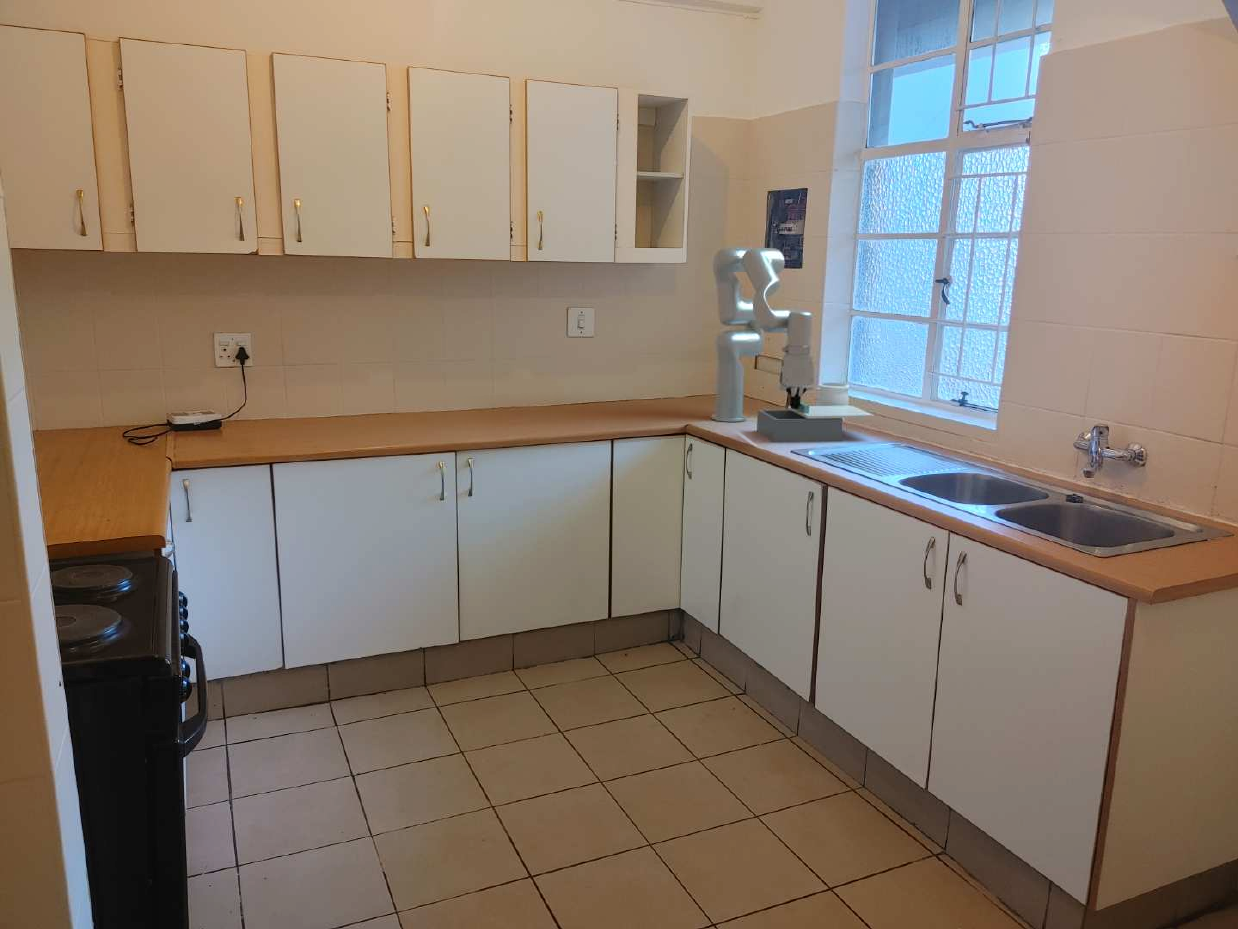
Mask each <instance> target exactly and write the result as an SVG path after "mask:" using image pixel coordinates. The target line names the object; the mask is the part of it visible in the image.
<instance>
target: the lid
mask: <svg viewBox="0 0 1238 929" xmlns="http://www.w3.org/2000/svg"><path fill="white" fill-rule="evenodd" d="M787 407H788V408H787V410H791V411H793V412H795V413H797V414H799V415H801V416H803V417H805V418H807V419H818V418H845V419H868V418H869V419H874V418H875V415H874V414H872V413H870V412H867V410H866V411H865V410H863V409H861V408H858V407H856V406H853V405H848V406H817V405H809V404H807V403H805V402H802V401H800V406H799V409H792V408H791V406H790V405H789V406H787Z"/></svg>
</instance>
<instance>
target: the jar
mask: <svg viewBox="0 0 1238 929" xmlns="http://www.w3.org/2000/svg"><path fill="white" fill-rule="evenodd" d="M818 388H819V391H818V394H817V405H816V406H849V404H850V403H849V402H850V400H849V397H850V396H849V389H850V385H849V384H846V383H840V382H822V383H821V382H820V383H819V384H818ZM842 419H843V423H844V422H845V420H846V418H842ZM843 427H844V425H843V424H842V428H843Z"/></svg>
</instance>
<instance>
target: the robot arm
mask: <svg viewBox="0 0 1238 929" xmlns="http://www.w3.org/2000/svg"><path fill="white" fill-rule="evenodd" d="M785 261H786V260H785V256H784V255H783V253H782V252H781V251H780V250H779V249H777V248H774V247H773V248H770V247H768V248H767V247H759V246H758V247H757V246H726V247H722V248H720V249H718V251H717V252H716V253H715V255H714V257H713V260H712V271H713V276H714V279H715V284H716V290H717V291H716V296H717V311H718V312H717V314H718V315H717V316H718V319H719V320H718V322H719V323H720V324H721V325H723V326H725V327H744V329H729V330H728V329H727V330H724V331H721V332H720V333H719V334H718V335H717V336H716V338H715V342H714V344H715V351H716V363H717V365H716V366H717V368H716V369H717V370H716V392H715V393H716V394H715V396H716V397H715V413H712V414H711V416H710V419H711V418H712V420H713V419H714V420H713V421H717V422H723V423H724V422H725V423H726V422H727V423H738V422H739V423H740V422H745V421H746V420H747V415H746V414H743V405H744V384H745V368H744V366H743V362H741V360H740V358H748V357H749V358H750V357H757V356H759V355H761V353H762V351H763V350H764V344H765V334H764V332H765V333H768V334H777V333H778V334H779V333H781V334H782V333H784V334H785V333H786V343H785V346H782V347H781V352H784V353H785V354H783V356H782V361H781V366H780V374H779V386H778V389H779V390H780V391H783V392H786V393H787V394H788V395H789V406H791V408H792V409H799V406H800V402H801V401H802V400H801V399H802V398H801V397H802V396H803V395H804V394H805V393H806V392H809V391H812V390H813V389H814V388H813V386H814V383H815V366H814V364H815V363H814V356H813V355H811V346H812V331H813V330H812V329H813V313H811V311H805V310H798V309H795V308H772V309H771V308H770V306H769V304H768V302H767V300H766V299H767V298H769V297H771V296H773V295H775V293H776V292H778V291H779V289H780V288H781V280H780V278H779V276H778V274H779V273H781V272H782V271H783V270H784V268H785ZM735 273H746V274H747V276H748V279H749V281H750V282H751V284H752V286H753V289H754V291H755V294H754V296H753V298H743V295H742V293H743V292H742V291H743V290H742V284H741V282H740V280H739V278H738V277H737V276H736V274H735ZM795 388H796V389H795Z"/></svg>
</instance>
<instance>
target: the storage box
mask: <svg viewBox="0 0 1238 929" xmlns="http://www.w3.org/2000/svg"><path fill="white" fill-rule="evenodd" d="M756 417H757V418H756V419H757V420H756V432H757V433H759V434H761V436H764V437H765V438H766V439H768V440H770V441H771V442H773V443H813V442H815V443H816V442H842V436H843V427H842V425H843V423H844V422H843V419H842V418H818V419H807V418H805V417H803V416H801V415H799V414H797V413H795V412H793V411H791V410H790V409H758V410H757V416H756Z"/></svg>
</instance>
